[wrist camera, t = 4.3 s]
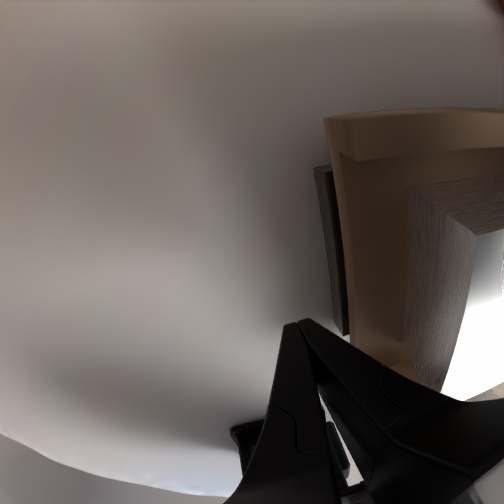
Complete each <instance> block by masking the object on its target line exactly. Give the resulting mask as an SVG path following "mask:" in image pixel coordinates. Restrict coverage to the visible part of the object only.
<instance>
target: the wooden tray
mask: <svg viewBox="0 0 504 504" xmlns="http://www.w3.org/2000/svg"><path fill="white" fill-rule="evenodd" d="M323 121H324V126H325V131H326V136H327V142H328V147H329V152H330V158H331V164H332V169H333V176H334V182H335V188H336V195H337V202H338V209H339V216H340V224H341V232H342V241H343V250H344V260H345V271H346V283H347V296H348V311H349V331H350V344H351V345H353V346H355V347H356V348H358V349H359V350H361V351H363V352H364V353H366V354H368V355H369V356H371V357H372V358H374V359H376V360H377V361H379V362H381V363H382V364H383V365H386V366H387V367H389V368H391V369H392V370H394V371H396V372H397V373H399V374H401V375H403V376H405V377H406V378H409V379H411V380H413V381H415V382H417V383H419V384H420V382H419V380H418V378H417V375H416V373H415V371H414V368H413V366H412V364H411V362H410V360H409V357H408V355H407V353H406V351H405V349H404V347H403V345H402V336H403V327H404V317H405V306H406V291H407V270H408V215H407V194H406V187H412V186H418V185H425V184H431V183H438V182H445V181H452V180H459V179H466V178H474V177H481V176H489V175H497V174H504V109H490V108H420V109H402V110H389V111H377V112H367V113H358V114H350V115H342V116H335V117H328V118H323Z"/></svg>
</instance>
